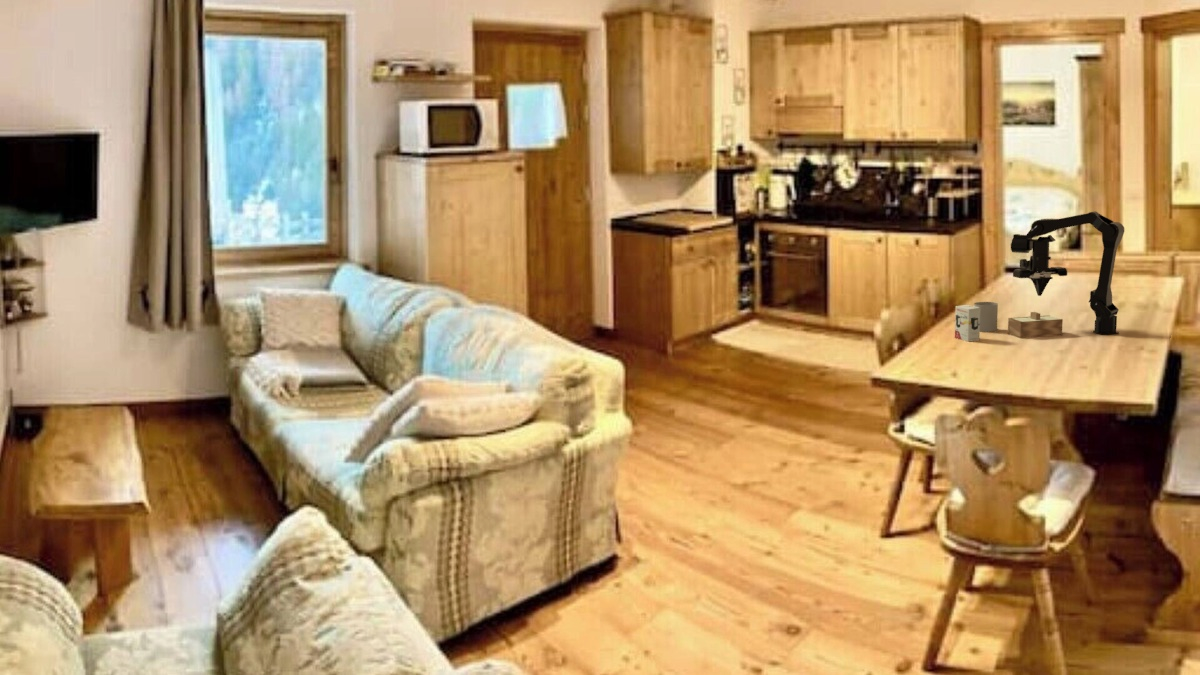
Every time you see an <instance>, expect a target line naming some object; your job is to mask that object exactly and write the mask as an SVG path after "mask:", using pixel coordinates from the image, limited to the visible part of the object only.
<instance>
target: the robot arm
mask: <svg viewBox="0 0 1200 675" xmlns="http://www.w3.org/2000/svg"><path fill="white" fill-rule="evenodd" d="M1088 224H1090V225H1092V227H1094V229H1096V230H1097V231H1098V232H1100V233H1101V241H1102V246H1103V249H1102V250H1103V251H1102V256H1101V262H1100V268H1099V275H1098V282H1097V286H1096V288H1095V289H1093V290H1091V291H1090V292H1089V300H1088V303H1089V308H1090V309H1091V310H1092V311H1093V312H1094V315H1095V320H1094V330H1092V332H1093V333H1095V334H1099V335H1119V334H1120V332H1119V331H1117V323H1118V321H1117V319H1118V316H1117V315H1118V313H1119V308H1118V307H1117V306H1116V305H1115V304H1114V303H1113V292H1112V280H1113V273H1114V268H1115V263H1116V256H1117V250H1118V248H1119V245H1120V243H1121V242H1122V239H1123V236H1124V234H1125V227H1124V225H1123V224H1122V223H1121V222H1118V221H1114V220H1112V219H1110V218H1108V217H1106V216H1104V215H1102V214H1100V213H1099V212H1098V211H1094V210H1093V211H1089V212H1087V213H1083V214H1082V213H1081V214H1077V215H1073V216H1066V217H1062V218H1061V217H1060V218H1041V219H1037V220H1035V221H1033V222H1032V224H1031V226H1030V227H1031V228H1030V230H1029V231H1028V232H1027V234H1019V233H1015V234H1013V235H1012V236H1013V238H1012V239H1011V243H1010V251H1011V253H1019V254H1023V253H1024V254H1029V253H1030V251H1032V255H1030V257H1029V260H1027V259H1026V258H1024V259H1023V258H1022V259H1019V268H1016V269H1014V270H1013V272H1012V277H1013V278H1018V279H1030V281H1032V283H1033V287H1034V288H1035V291H1036V292H1035V293H1036V294H1037V296H1038V297H1041V296H1042V295H1043V293H1044V291H1045V289H1046V287H1047V286H1048V283H1049V282H1050V280H1053V279H1054V278H1053V276H1052V275H1058V276H1059V277H1066V276H1068V269H1067V267H1062V266H1050V267H1049V264H1050V262H1049V261H1050V260H1051V259H1052V257H1051V256H1050V243H1052V242H1055V241H1056V239H1055V237H1053V236H1052V235H1051V233H1053V232H1056V231H1058V230H1060V229H1065V228H1066V229H1067V228H1071V227H1077V226H1082V225H1088ZM1044 235H1047V236H1044Z"/></svg>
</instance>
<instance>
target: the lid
mask: <svg viewBox="0 0 1200 675" xmlns="http://www.w3.org/2000/svg"><path fill="white" fill-rule="evenodd" d="M1040 316H1042V317H1040ZM1026 317H1027V318H1017V317H1011V318H1012V319H1015V320H1019V321H1022V322H1025V321H1040V320H1056V319H1060V318H1058V317H1055V316H1051V315H1050V316H1048V315H1041V313H1040V312H1036V311H1030V315H1029V316H1026Z"/></svg>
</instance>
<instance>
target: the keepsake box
mask: <svg viewBox="0 0 1200 675" xmlns="http://www.w3.org/2000/svg"><path fill="white" fill-rule="evenodd" d="M1042 316H1043V315H1040V317H1042ZM1047 316H1051V315H1049V314H1048V315H1047ZM1027 317H1028V316H1022V317H1021V316H1020V317H1019V316H1018V317H1016V318H1027ZM1012 318H1013V317H1008V321H1007V322H1008V323H1007V334H1008V335H1010V336H1014V337H1015V338H1018V339H1026V338H1028V339H1029V338H1038V337H1039V338H1042V337H1055V336H1056V337H1057V336H1063V318H1059V319H1056V320H1040V321H1025V322H1022V321H1019V320H1015V319H1012Z"/></svg>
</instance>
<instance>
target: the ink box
mask: <svg viewBox="0 0 1200 675" xmlns="http://www.w3.org/2000/svg"><path fill="white" fill-rule="evenodd" d="M954 314H955V320H954V322H955V323H954V338H955V339H957V338H958V340H961V341H964V340H965V342H975V341H980V335H981V334H980V333H981V332H980V308H979V307H975V306H974V305H969V304H962V305H955V313H954Z"/></svg>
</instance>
